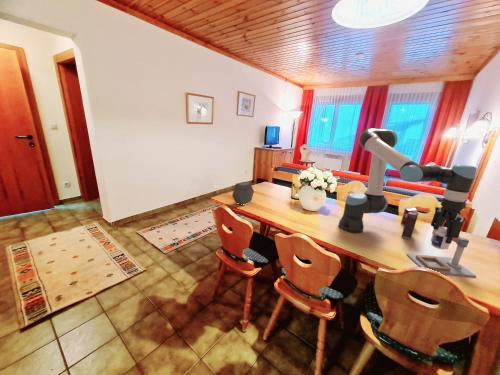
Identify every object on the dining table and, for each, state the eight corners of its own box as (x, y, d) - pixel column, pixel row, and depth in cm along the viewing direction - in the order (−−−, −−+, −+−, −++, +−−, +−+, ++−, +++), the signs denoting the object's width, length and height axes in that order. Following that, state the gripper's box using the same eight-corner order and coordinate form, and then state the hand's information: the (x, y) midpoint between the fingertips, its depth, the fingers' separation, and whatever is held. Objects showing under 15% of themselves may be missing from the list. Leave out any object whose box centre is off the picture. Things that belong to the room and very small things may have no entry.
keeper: (460, 247, 97) (463, 241, 96) (433, 230, 114) (435, 224, 113) (469, 247, 97) (471, 241, 96) (440, 230, 113) (442, 225, 112)
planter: (248, 193, 184) (241, 176, 171) (255, 195, 180) (248, 178, 166) (238, 207, 176) (229, 191, 162) (245, 210, 171) (237, 193, 158)
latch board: (425, 272, 97) (432, 250, 94) (406, 254, 110) (412, 235, 107) (475, 277, 95) (484, 255, 92) (450, 258, 109) (457, 239, 105)
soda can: (415, 227, 144) (420, 211, 140) (403, 226, 145) (408, 210, 142) (409, 223, 150) (414, 208, 147) (398, 222, 152) (402, 206, 148)
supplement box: (410, 239, 127) (417, 216, 122) (401, 236, 130) (407, 213, 125) (412, 235, 133) (418, 212, 128) (403, 232, 136) (409, 210, 132)
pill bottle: (427, 243, 101) (433, 225, 99) (437, 243, 102) (443, 225, 99) (438, 249, 96) (444, 231, 94) (448, 249, 97) (455, 231, 94)
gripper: (483, 207, 83) (464, 257, 90) (446, 194, 101) (432, 236, 107) (463, 206, 84) (446, 255, 90) (430, 192, 102) (417, 235, 108)
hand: (438, 245), depth 99 cm, fingers closed on pill bottle, 5 cm apart
